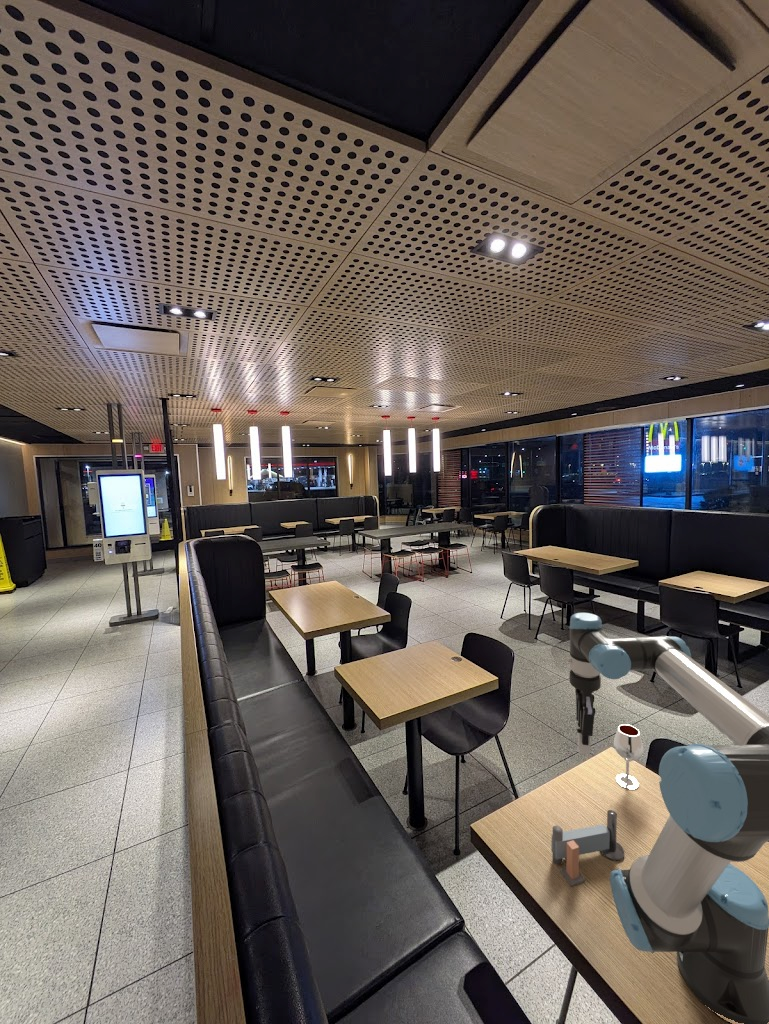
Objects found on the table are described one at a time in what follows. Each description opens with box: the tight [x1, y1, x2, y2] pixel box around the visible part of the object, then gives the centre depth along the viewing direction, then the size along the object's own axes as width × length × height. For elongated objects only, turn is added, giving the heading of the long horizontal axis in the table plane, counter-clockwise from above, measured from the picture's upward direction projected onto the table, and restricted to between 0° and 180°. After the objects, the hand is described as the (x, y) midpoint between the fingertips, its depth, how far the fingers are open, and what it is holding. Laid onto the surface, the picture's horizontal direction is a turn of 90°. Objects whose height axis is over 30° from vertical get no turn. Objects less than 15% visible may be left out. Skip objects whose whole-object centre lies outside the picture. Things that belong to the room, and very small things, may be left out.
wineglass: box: [613, 724, 644, 791], centre depth 133 cm, size 8×8×18 cm
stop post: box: [559, 840, 586, 887], centre depth 104 cm, size 4×4×9 cm
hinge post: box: [599, 809, 625, 862], centre depth 111 cm, size 6×6×11 cm
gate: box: [550, 823, 610, 866], centre depth 109 cm, size 15×2×9 cm, turn 98°
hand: (583, 752), depth 114 cm, fingers closed
